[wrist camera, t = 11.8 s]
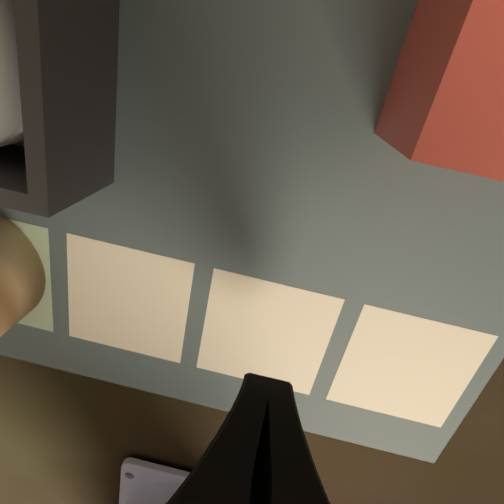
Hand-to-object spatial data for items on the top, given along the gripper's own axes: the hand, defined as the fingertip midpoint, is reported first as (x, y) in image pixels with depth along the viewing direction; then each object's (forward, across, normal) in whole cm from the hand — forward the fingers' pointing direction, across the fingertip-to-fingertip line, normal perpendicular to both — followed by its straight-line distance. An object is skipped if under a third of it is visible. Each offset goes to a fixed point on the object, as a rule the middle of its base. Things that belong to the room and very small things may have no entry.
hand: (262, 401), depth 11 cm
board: (+4, +5, -4) cm, 7 cm away
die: (+3, -4, -10) cm, 11 cm away
